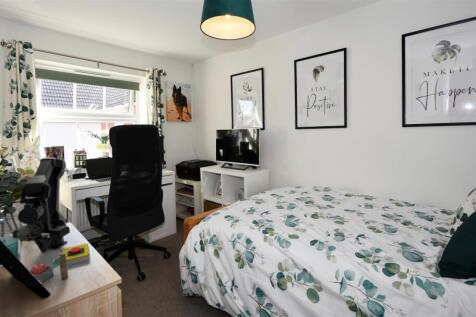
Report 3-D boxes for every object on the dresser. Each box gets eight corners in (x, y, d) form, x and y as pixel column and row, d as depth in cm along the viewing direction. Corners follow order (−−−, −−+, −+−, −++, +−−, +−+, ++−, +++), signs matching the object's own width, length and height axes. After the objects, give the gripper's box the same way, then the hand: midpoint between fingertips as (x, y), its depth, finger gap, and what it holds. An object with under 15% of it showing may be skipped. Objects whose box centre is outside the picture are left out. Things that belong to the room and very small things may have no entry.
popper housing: (39, 275, 92) (38, 266, 92) (53, 276, 92) (52, 266, 92) (26, 284, 87) (25, 274, 87) (41, 285, 87) (40, 275, 86)
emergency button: (60, 259, 96) (62, 243, 108) (61, 271, 96) (63, 253, 109) (89, 253, 100) (88, 238, 113) (90, 263, 101) (89, 247, 114)
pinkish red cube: (39, 271, 91) (38, 261, 91) (49, 272, 91) (48, 262, 91) (30, 278, 88) (28, 267, 87) (40, 278, 87) (39, 268, 87)
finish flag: (64, 276, 92) (61, 252, 90) (69, 276, 92) (66, 252, 90) (52, 286, 86) (49, 260, 85) (58, 286, 86) (55, 261, 85)
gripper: (-5, 222, 92) (1, 263, 94) (46, 222, 91) (51, 264, 93) (22, 211, 103) (27, 248, 105) (68, 211, 102) (72, 249, 104)
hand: (44, 252), depth 102 cm, fingers closed
